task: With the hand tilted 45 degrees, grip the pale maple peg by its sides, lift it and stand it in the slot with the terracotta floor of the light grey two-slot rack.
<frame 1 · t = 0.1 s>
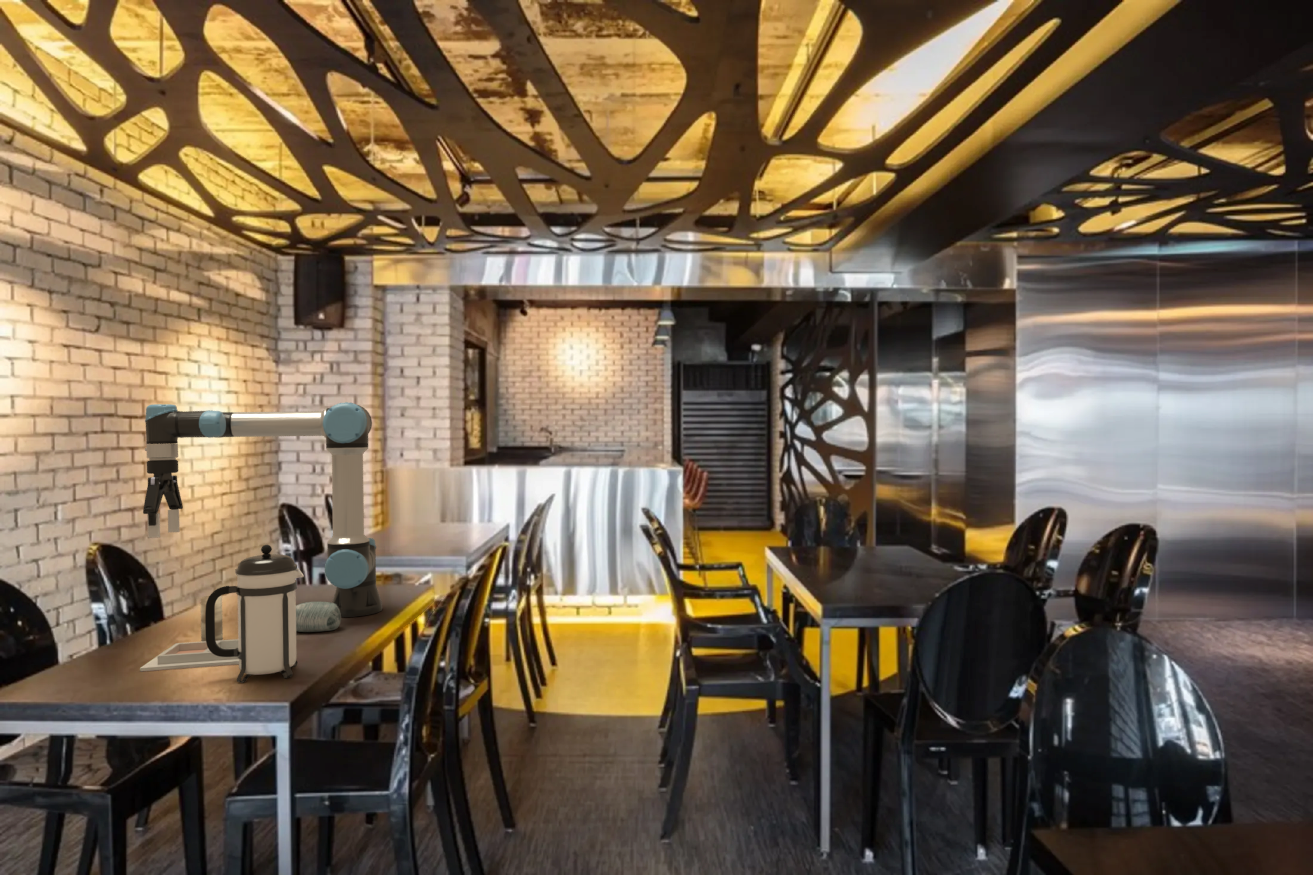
hand: (164, 534, 219), 28 cm above the table, fingers open, 13 cm apart
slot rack: (212, 657, 195), on the table
yarn ball: (315, 631, 221), on the table
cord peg: (212, 641, 210), on the table
coffee press: (261, 676, 180), on the table
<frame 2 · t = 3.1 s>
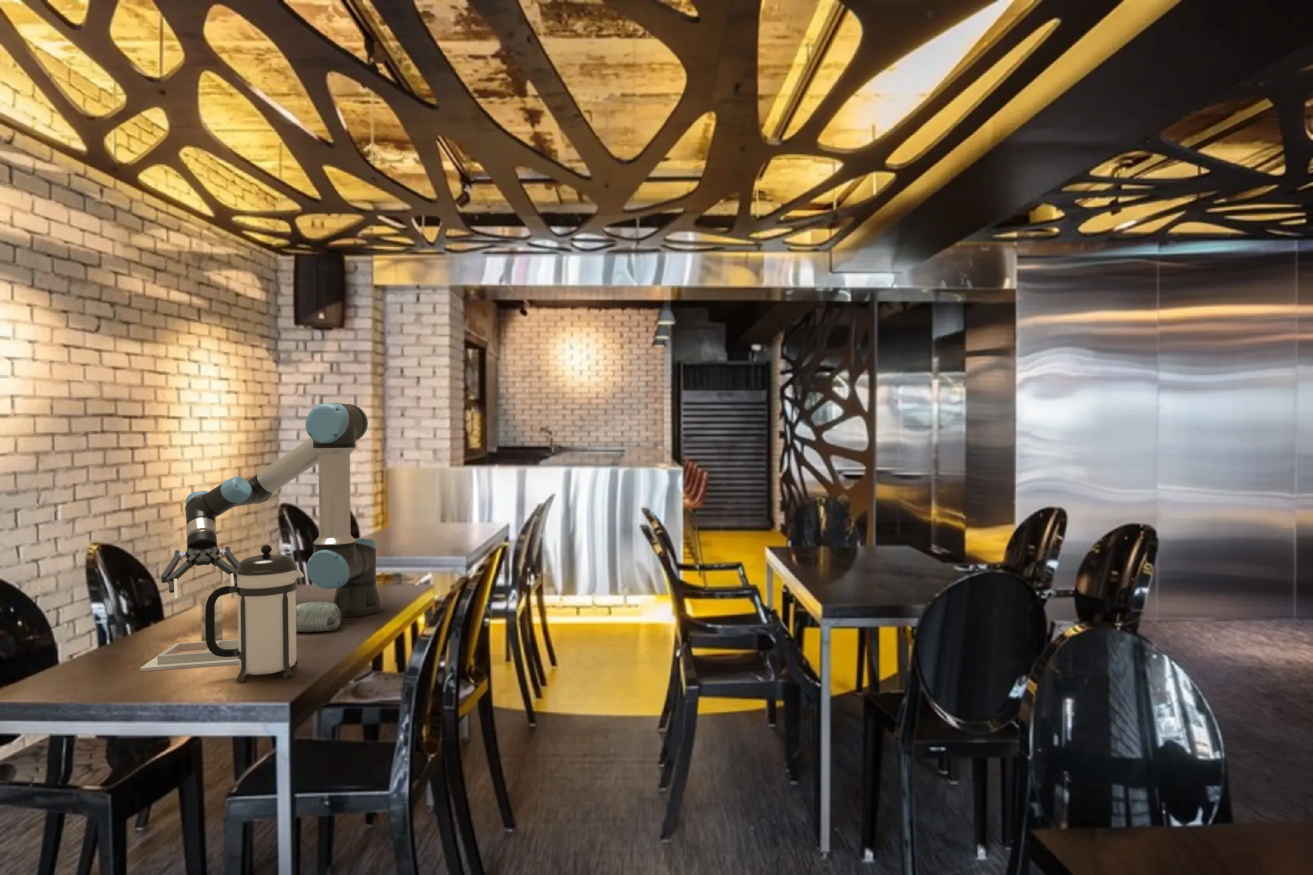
hand: (205, 598, 215), 11 cm above the table, fingers open, 13 cm apart
nothing on the table moved.
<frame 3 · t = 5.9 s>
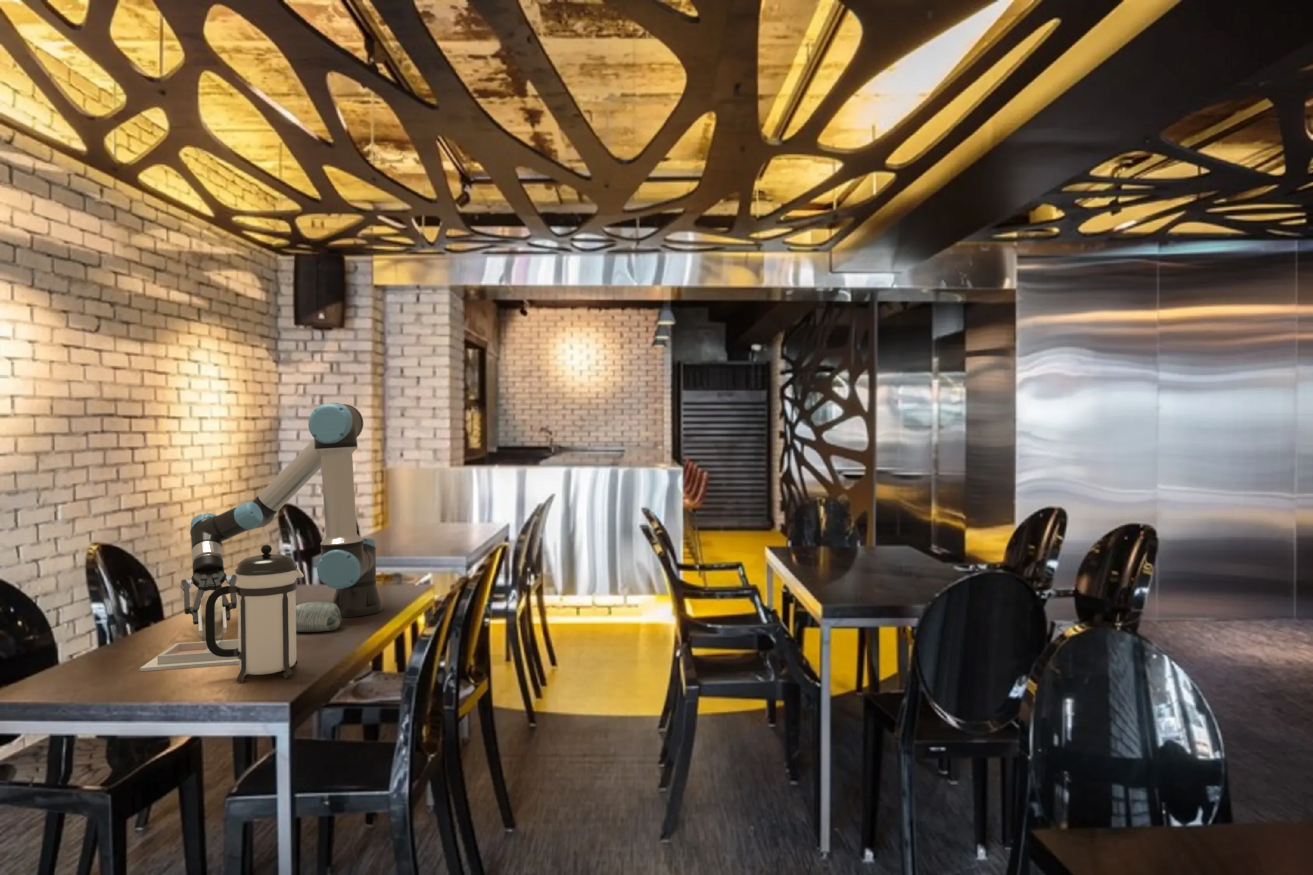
hand: (212, 631, 207), 3 cm above the table, fingers closed on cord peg, 5 cm apart
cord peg: (212, 641, 210), on the table, touching gripper
everything else where it was.
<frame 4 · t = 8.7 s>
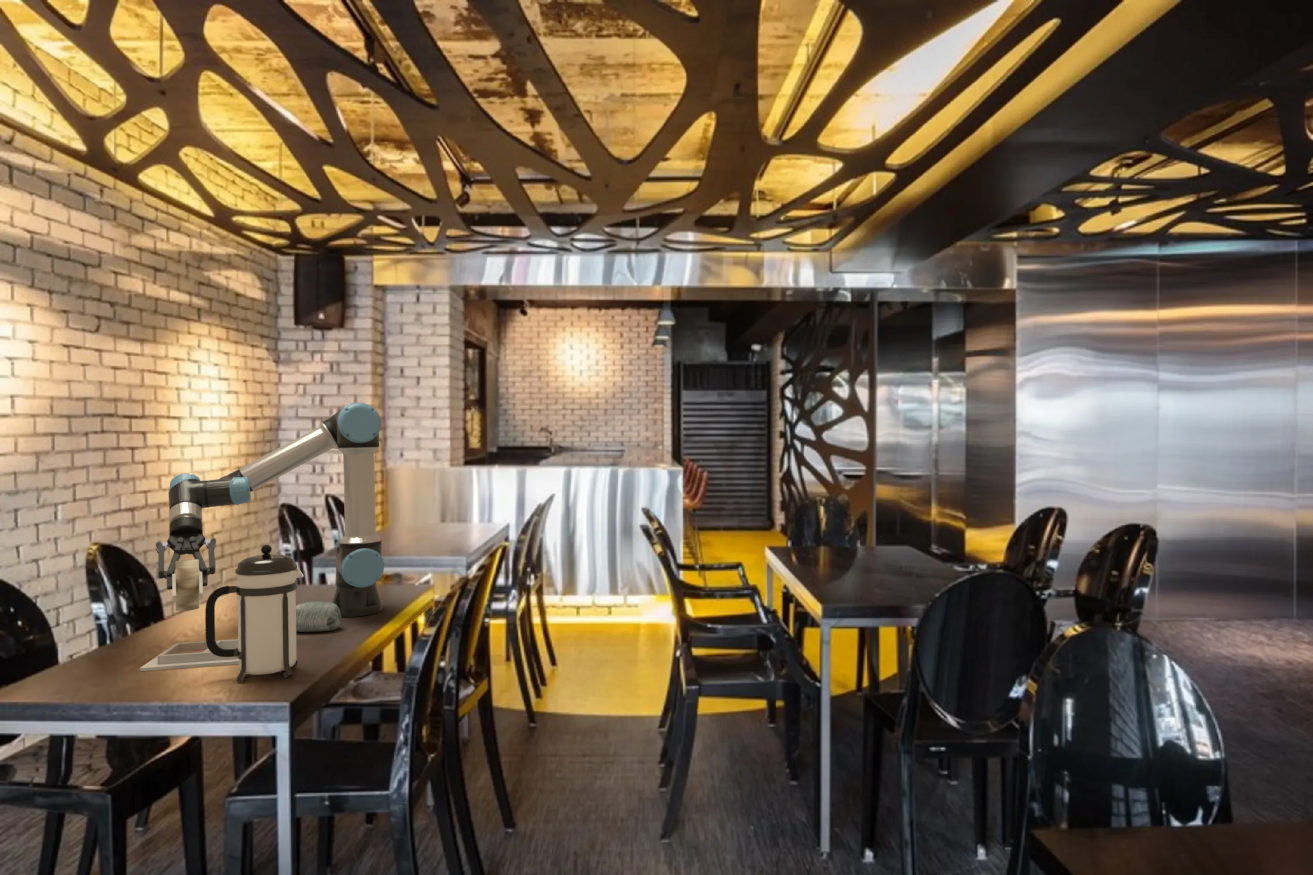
hand: (187, 597, 192), 16 cm above the table, fingers closed on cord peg, 5 cm apart
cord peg: (187, 608, 195), point 12 cm above the table, touching gripper
everything else where it was.
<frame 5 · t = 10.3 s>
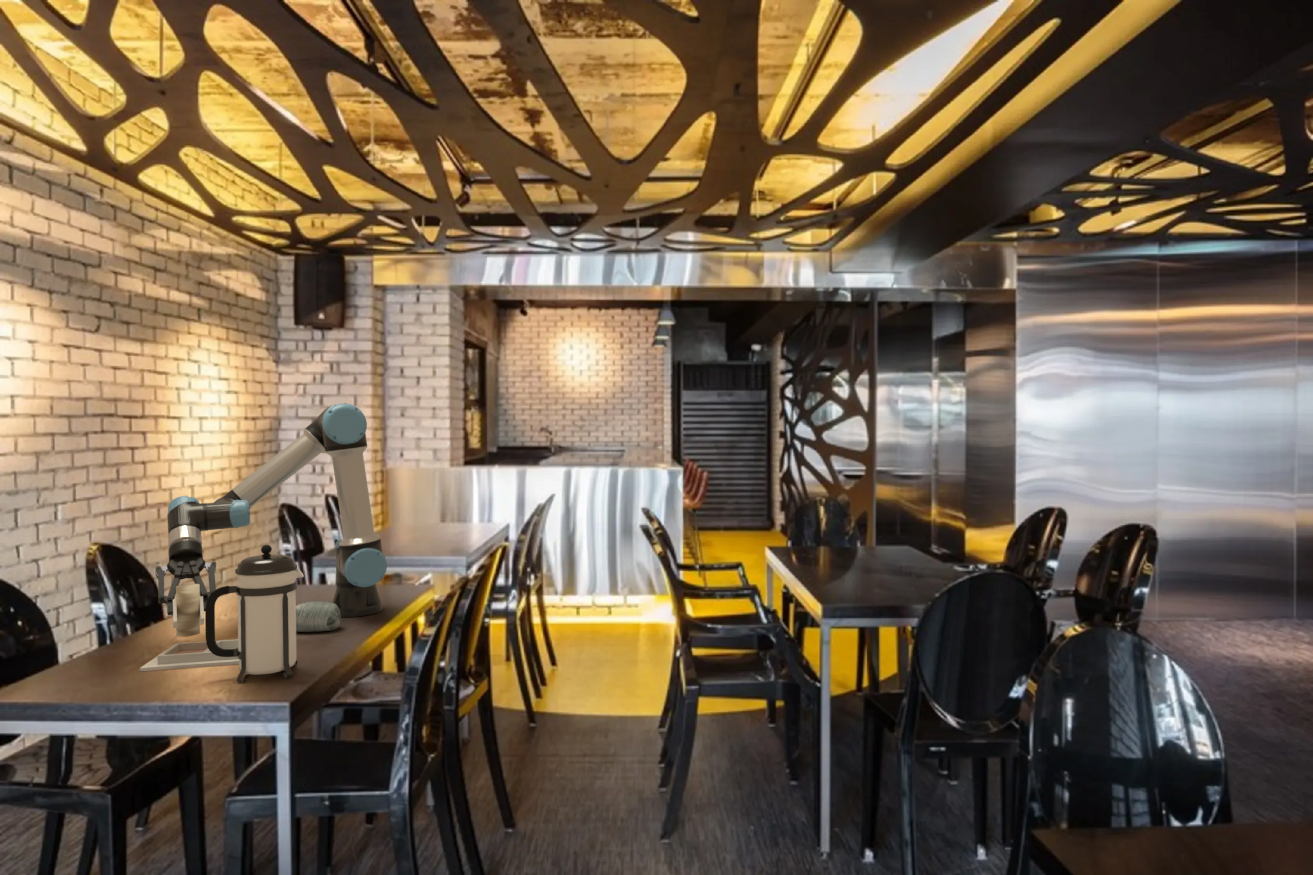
hand: (188, 622, 190), 10 cm above the table, fingers closed on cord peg, 5 cm apart
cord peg: (188, 634, 193), point 6 cm above the table, touching gripper
everything else where it was.
when the fingers open (6 cm above the table, at t = 11.5 s): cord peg drops 1 cm, resting on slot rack.
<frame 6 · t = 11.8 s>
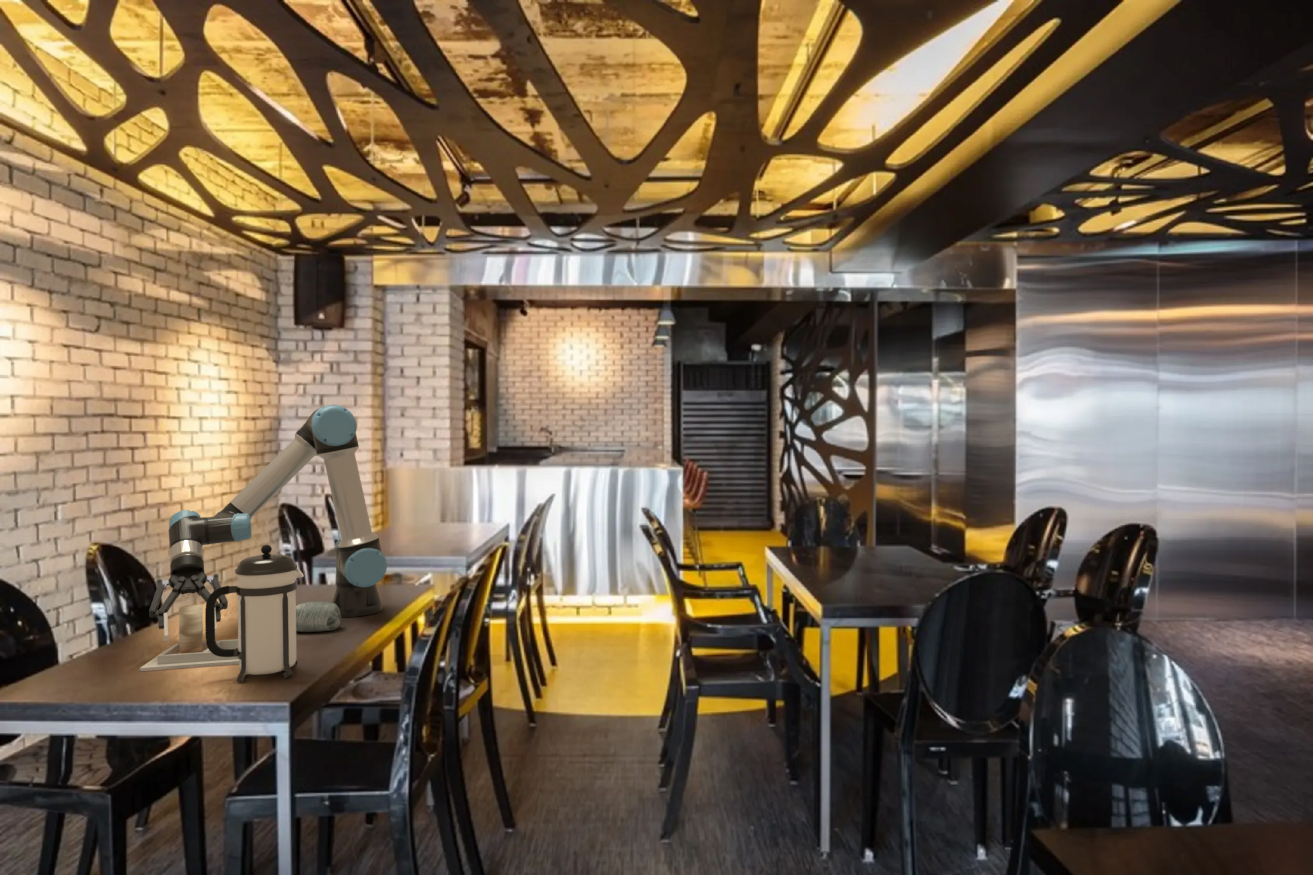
hand: (190, 635, 191), 7 cm above the table, fingers open, 9 cm apart
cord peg: (190, 654, 194), point 1 cm above the table, touching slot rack
everything else where it was.
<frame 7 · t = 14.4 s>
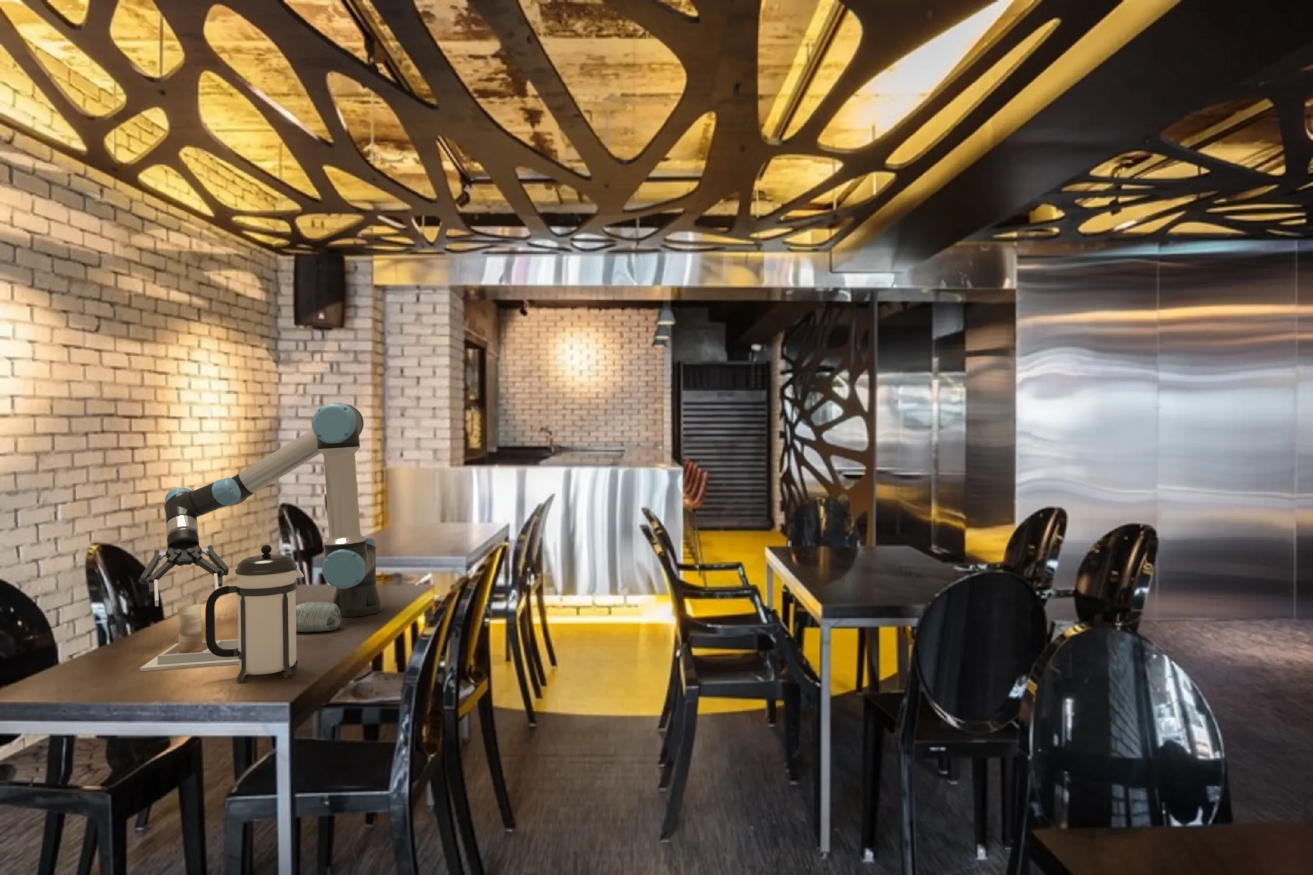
hand: (187, 599, 204), 13 cm above the table, fingers open, 13 cm apart
nothing on the table moved.
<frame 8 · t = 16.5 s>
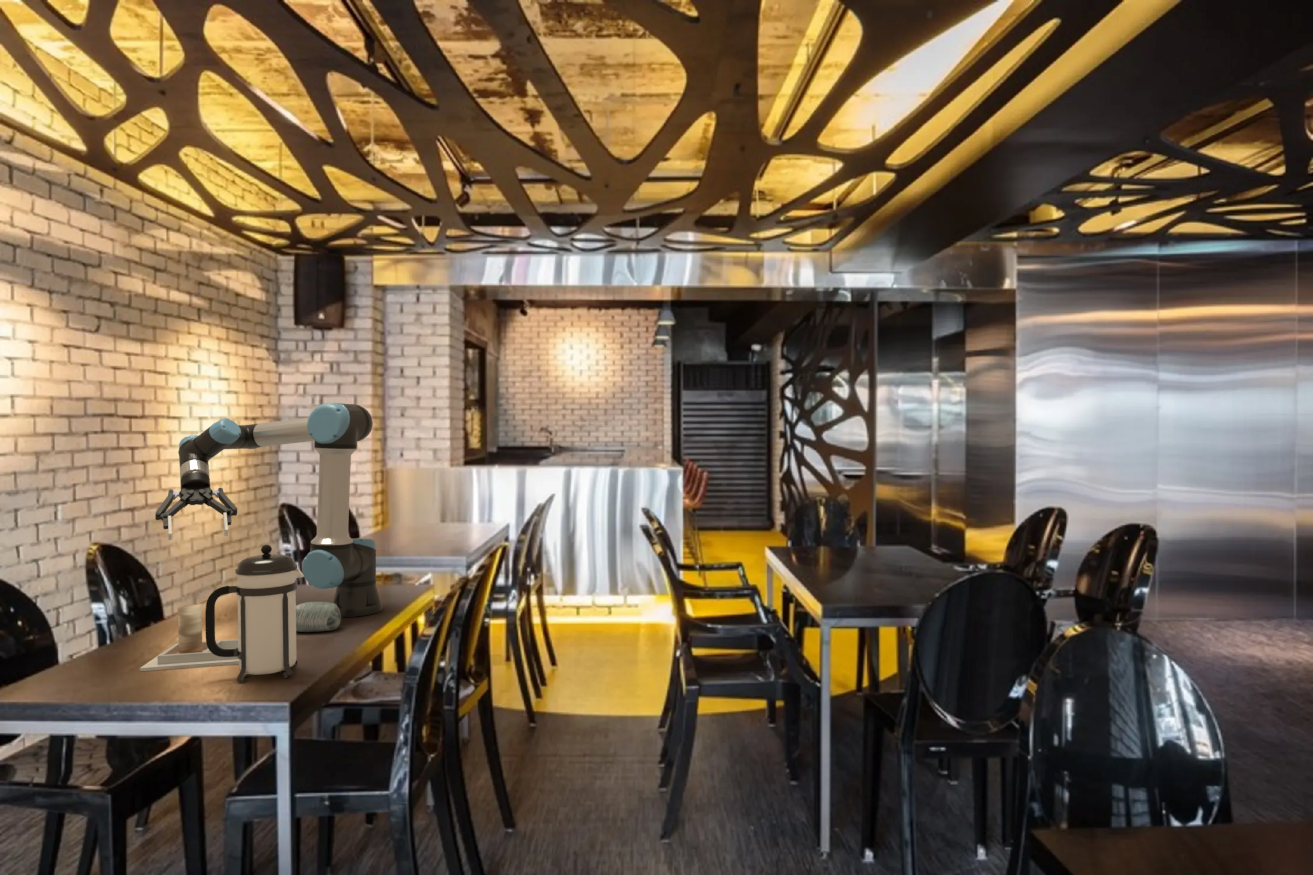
hand: (198, 535, 219), 28 cm above the table, fingers open, 13 cm apart
nothing on the table moved.
at the end: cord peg 0.1 cm from the target spot on the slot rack, point 1.0 cm above the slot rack's base; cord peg tilted 1°; the gripper is holding nothing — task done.
